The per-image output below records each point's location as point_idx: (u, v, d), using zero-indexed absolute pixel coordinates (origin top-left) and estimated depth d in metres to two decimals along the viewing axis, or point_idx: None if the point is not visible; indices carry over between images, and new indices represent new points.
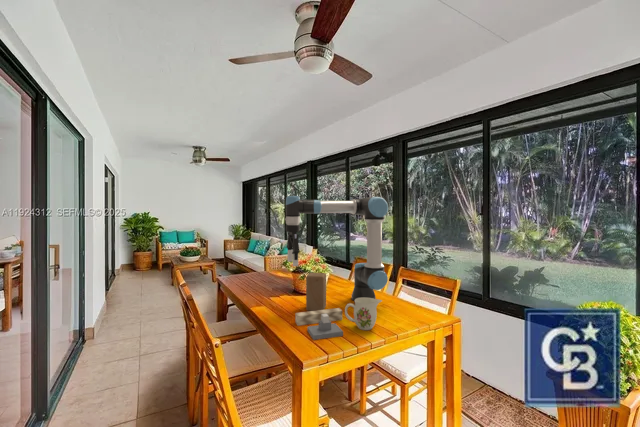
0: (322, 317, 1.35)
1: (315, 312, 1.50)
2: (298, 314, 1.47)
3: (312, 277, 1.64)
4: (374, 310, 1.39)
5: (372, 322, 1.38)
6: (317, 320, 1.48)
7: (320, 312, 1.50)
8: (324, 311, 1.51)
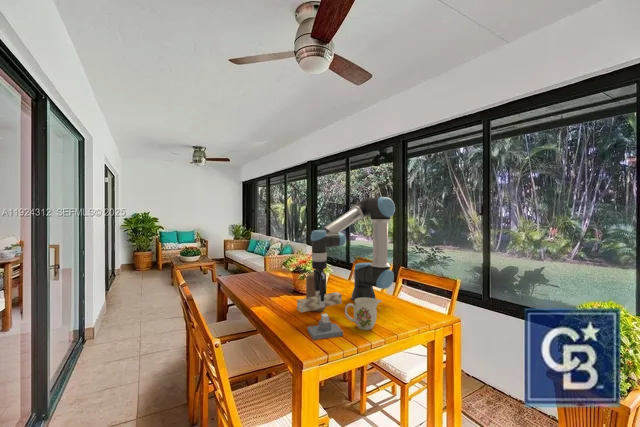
0: (322, 317, 1.35)
1: (316, 297, 1.50)
2: (300, 300, 1.45)
3: (312, 277, 1.64)
4: (374, 310, 1.39)
5: (372, 322, 1.38)
6: None
7: None
8: None
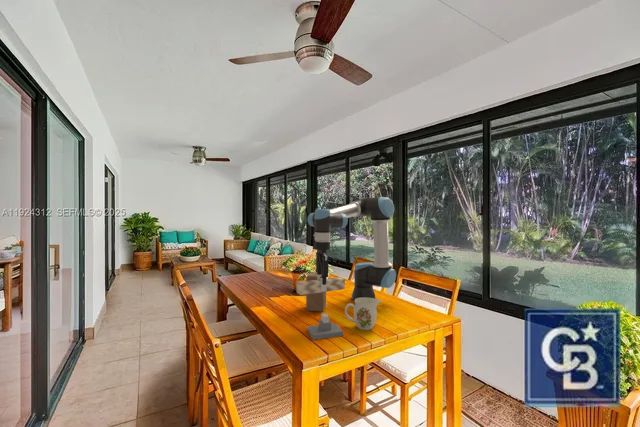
0: (322, 317, 1.35)
1: (317, 280, 1.40)
2: (300, 282, 1.35)
3: (312, 277, 1.64)
4: (374, 310, 1.39)
5: (372, 322, 1.38)
6: (320, 289, 1.38)
7: None
8: None
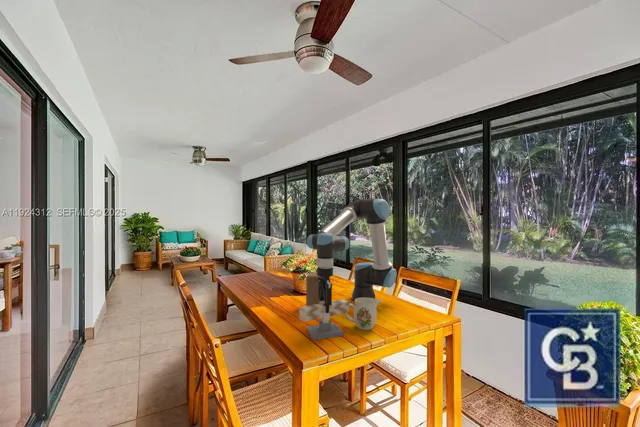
0: None
1: (320, 304, 1.35)
2: (303, 308, 1.30)
3: (312, 277, 1.64)
4: (374, 310, 1.39)
5: (372, 322, 1.38)
6: None
7: None
8: None
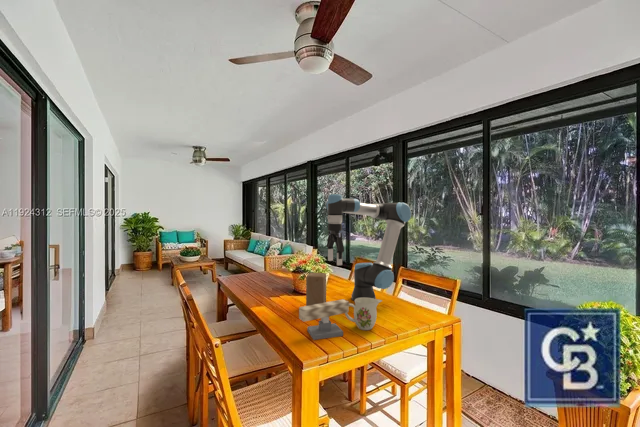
0: None
1: (320, 304, 1.35)
2: (303, 308, 1.30)
3: (312, 277, 1.64)
4: (374, 310, 1.39)
5: (372, 322, 1.38)
6: (323, 313, 1.33)
7: (326, 304, 1.35)
8: (330, 303, 1.37)
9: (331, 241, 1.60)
